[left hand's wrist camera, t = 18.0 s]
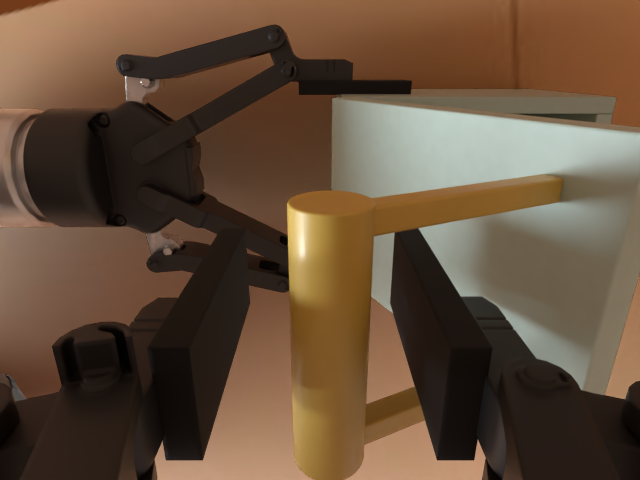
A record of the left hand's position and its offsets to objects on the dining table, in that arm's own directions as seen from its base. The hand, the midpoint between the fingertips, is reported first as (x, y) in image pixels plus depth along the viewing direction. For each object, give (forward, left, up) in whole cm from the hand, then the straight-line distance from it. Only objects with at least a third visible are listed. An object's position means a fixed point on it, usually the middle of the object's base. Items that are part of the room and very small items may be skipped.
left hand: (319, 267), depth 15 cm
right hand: (-5, -1, -15) cm, 16 cm away
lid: (-5, 0, -4) cm, 7 cm away
